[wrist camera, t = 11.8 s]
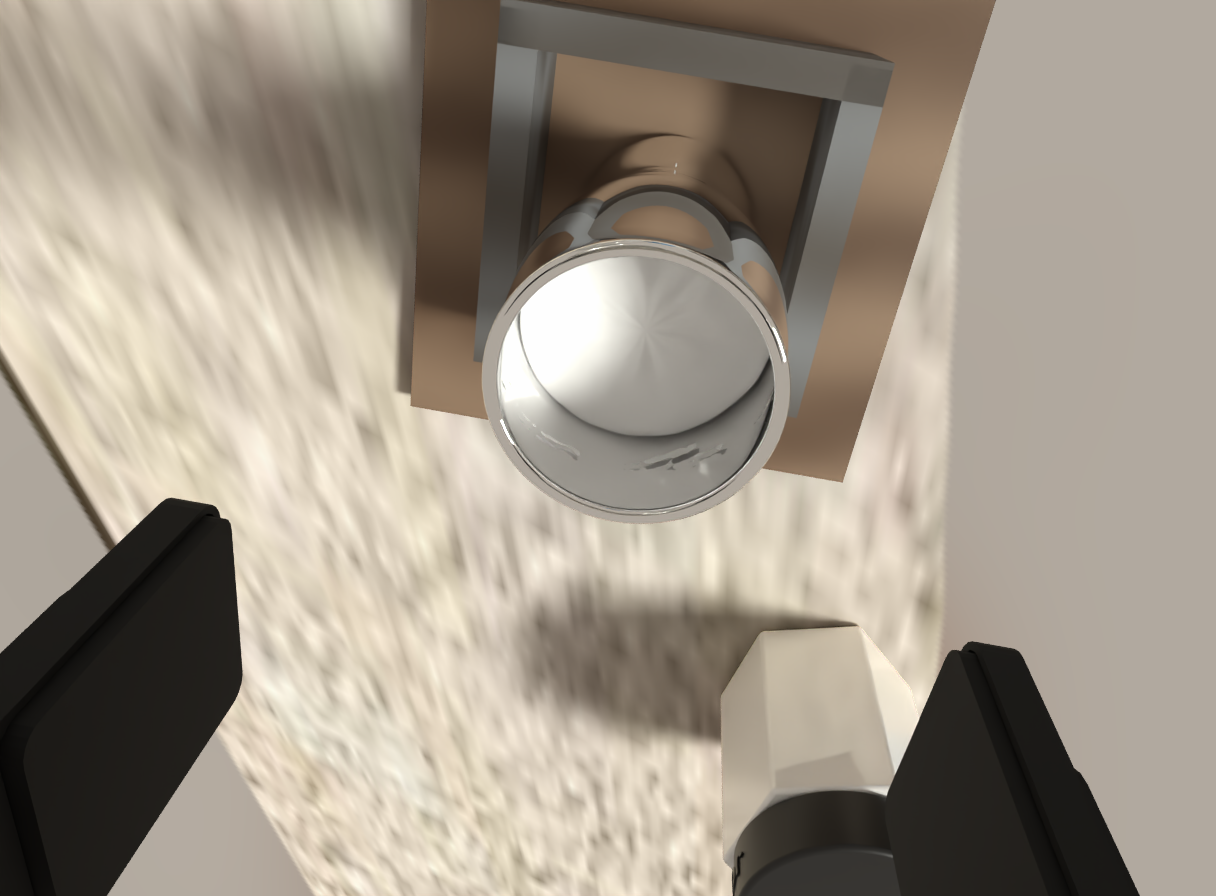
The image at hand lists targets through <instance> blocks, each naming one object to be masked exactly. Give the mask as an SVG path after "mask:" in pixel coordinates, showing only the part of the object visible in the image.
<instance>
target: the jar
mask: <svg viewBox="0 0 1216 896" xmlns="http://www.w3.org/2000/svg"><path fill="white" fill-rule="evenodd" d="M918 721H919V716H918V712H917V709H916V705H915V701H914V698H913V694H912V691H911V688H910V686H909V685H908V684H907V683H906V682H905V680H904V679H903V678H902V677H901V675H900V674H899V673H898V672H897V671H896V669H895V668H894V667H893V666H892V664H891V663H890V662H889V661H888V660H887V658H886V657H885V656H884V655H883V653H882V652H881V651H880V650H879V649H878V647H877V646H876V645H875V644H874V642H873V641H872V640H871V639H870V638H869V636H868V635H867V634H866V633H865V631H864V630H863V629H862V628H861V627H859V626H850V627H831V628H812V629H794V630H775V631H763V632H761V633H760V634H759V635H758V637H757V638H756V640H755V641H754V643H753V645H752V646H751V648H750V650H749V651H748V653H747V654H746V656H745V658H744V659H743V661H742V662H741V664H740V666H739V667H738V669H737V670H736V672H735V674H734V675H733V677H732V678H731V680H730V682H729V683H728V685H727V687H726V688H725V690H724V691H723V693H722V695H721V764H722V839H723V860H724V862H725V863H726V864H727V865H728V866H729V867H730V868H731V869H732V892H733V896H901V893H900V888H899V883H898V879H897V874H896V869H895V864H894V859H893V855H892V850H891V845H890V840H889V835H888V831H887V826H886V820H885V802H886V797H887V793H888V790H889V788H890V785H891V783H892V781H893V778H894V776H895V774H896V771H897V769H898V767H899V765H900V762H901V760H902V758H903V755H904V753H905V751H906V748H907V746H908V744H909V742H910V739H911V737H912V735H913V732H914V730H915V728H916V725H917V723H918Z"/></svg>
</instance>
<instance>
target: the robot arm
mask: <svg viewBox="0 0 1216 896" xmlns="http://www.w3.org/2000/svg"><path fill="white" fill-rule="evenodd" d="M241 682H242V659H241V646H240V633H239V620H238V607H237V593H236V580H235V567H234V554H233V541H232V529H231V524H230V522H229V520H227V519H223V518H220V514H219V511H218V509H217V508H216V507H215V506H213V505H209V504H204V503H198V502H192V501H187V500H181V499H176V498H168V499H165V500H164V501H163V502H161V503H160V504H159V505H158V506H157V507H156V508H155V509H154V510H153V511H152V512H151V513H150V514H148V515H147V516H146V517H145V518H144V519H143V520H142V521H141V522H140V523H139V524H138V525H137V526H136V527H135V528H134V529H133V530H132V531H131V532H130V533H129V534H128V535H126V536H125V537H124V538H123V539H122V540H121V541H120V542H119V543H118V544H117V545H116V546H115V547H114V548H113V549H112V550H111V551H110V552H109V553H108V554H107V555H106V556H105V557H103V558H102V559H101V560H100V561H99V562H98V563H97V564H96V565H95V566H94V567H93V568H92V569H91V570H90V571H89V572H88V573H87V574H86V575H85V576H84V577H83V578H81V580H80V581H78V582H77V583H76V584H75V585H74V586H73V587H72V588H71V589H70V590H69V591H67V592H66V593H64V594H63V595H62V596H60V597H59V598H58V599H57V600H56V601H55V602H54V603H53V604H52V605H51V606H50V607H49V608H48V609H47V610H46V611H45V612H43V613H42V614H41V615H40V616H39V617H38V618H37V619H36V620H35V621H34V622H33V623H32V624H31V625H30V626H29V627H28V628H27V629H25V630H24V632H22V633H21V634H20V635H19V636H18V637H17V638H16V639H15V640H14V641H13V642H12V643H11V644H10V645H9V646H8V647H7V648H6V649H4V650H3V651H2V652H1V653H0V896H107V894H108V893H109V891H110V890H111V888H112V887H113V886H114V884H115V882H116V881H117V879H118V878H119V876H120V875H121V873H122V872H123V870H124V868H125V867H126V866H127V864H128V863H129V861H130V860H131V858H132V857H133V855H134V854H135V852H136V850H137V849H138V847H139V846H140V844H141V843H142V841H143V840H144V838H145V837H146V835H147V834H148V832H149V831H150V829H151V827H152V826H153V825H154V823H155V822H156V820H157V819H158V817H159V815H160V814H161V812H162V811H163V809H164V808H165V806H166V805H167V803H168V802H169V800H170V799H171V797H172V795H173V794H174V793H175V791H176V790H177V788H178V787H179V785H180V784H181V782H182V780H183V779H184V777H185V776H186V774H187V773H188V771H189V770H190V768H191V767H192V765H193V764H194V762H195V760H196V759H197V757H198V756H199V754H200V753H201V752H202V750H203V748H204V747H205V745H206V744H207V742H208V741H209V739H210V738H211V736H212V735H213V733H214V732H215V730H216V729H217V727H218V726H219V724H220V723H221V721H222V720H223V718H224V717H225V715H226V714H227V712H228V711H229V709H230V707H231V706H232V704H233V703H234V701H235V699H236V697H237V695H238V693H239V690H240V686H241ZM885 820H886V826H887V831H888V835H889V840H890V845H891V850H892V855H893V859H894V864H895V869H896V874H897V879H898V883H899V888H900V893H901V896H1140V895H1139V893H1138V891H1137V889H1136V887H1135V885H1134V882H1133V880H1132V878H1131V876H1130V874H1129V872H1128V870H1127V868H1126V866H1125V863H1124V861H1123V859H1122V857H1121V855H1120V853H1119V850H1118V848H1117V846H1116V844H1115V842H1114V840H1113V838H1112V835H1111V833H1110V831H1109V829H1108V827H1107V825H1106V823H1105V821H1104V818H1103V816H1102V814H1101V812H1100V810H1099V808H1098V806H1097V803H1096V801H1095V799H1094V797H1093V795H1092V793H1091V791H1090V789H1089V787H1088V784H1087V783H1086V781H1085V780H1084V778H1083V777H1082V775H1081V773H1080V772H1078V771H1077V770H1076V769H1074V767H1073V765H1072V763H1071V760H1070V758H1069V756H1068V754H1067V752H1066V750H1065V747H1064V745H1063V743H1062V741H1061V739H1060V737H1059V735H1058V732H1057V730H1056V728H1055V726H1054V724H1053V721H1052V719H1051V717H1050V715H1049V713H1048V711H1047V708H1046V706H1045V704H1044V702H1043V700H1042V698H1041V695H1040V693H1039V691H1038V689H1037V687H1036V685H1035V683H1034V680H1033V678H1032V676H1031V674H1030V672H1029V669H1028V667H1027V665H1026V663H1025V661H1024V659H1023V657H1022V655H1021V654H1020V652H1019V651H1017V650H1015V649H1012V648H1007V647H1001V646H995V645H990V644H984V643H979V642H973V641H972V642H968V643H967V644H966V645H965V646H964V647H963V649H962V650H961V651H958V650H952V651H950V652H949V653H948V655H947V657H946V659H945V661H944V663H943V666H942V668H941V670H940V672H939V675H938V677H937V679H936V682H935V684H934V686H933V689H932V691H931V693H930V695H929V698H928V700H927V702H926V705H925V707H924V709H923V712H922V714H921V716H920V719H919V721H918V723H917V725H916V728H915V730H914V732H913V735H912V737H911V739H910V742H909V744H908V746H907V748H906V751H905V753H904V755H903V758H902V760H901V762H900V765H899V767H898V769H897V771H896V774H895V776H894V778H893V781H892V783H891V785H890V788H889V790H888V793H887V797H886V802H885Z"/></svg>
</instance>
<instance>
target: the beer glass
mask: <svg viewBox="0 0 1216 896" xmlns="http://www.w3.org/2000/svg"><path fill="white" fill-rule="evenodd" d="M482 390H483V398H484V404H485V408H486V412H487V416H488V419H489V422H490V424H491V427H492V430H493V432H494V434H495V436H496V438H497V440H498V442H499V444H500V446H501V447H502V449H503V451H504V452H505V454H506V455H507V457H508V458H509V459H510V461H511V462H512V463H513V464H514V466H515V467H516V468H517V469H518V470H519V471H520V473H521V474H522V475H523V476H524V477H525V478H526V479H527V480H529V481H530V482H531V483H532V484H533V485H534V486H535V487H537V488H538V489H539V490H541V491H542V492H543V493H545V494H546V495H547V496H549V497H551V498H552V499H554V500H555V501H557V502H559V503H561V504H563V505H564V506H566V507H569V508H571V509H573V510H575V511H578V512H580V513H583V514H586V515H589V516H592V517H595V518H599V519H603V520H607V521H612V522H619V523H629V524H653V523H663V522H670V521H675V520H679V519H683V518H687V517H690V516H693V515H696V514H699V513H702V512H704V511H706V510H709V509H711V508H713V507H715V506H717V505H718V504H720V503H722V502H724V501H725V500H727V499H729V498H730V497H732V496H733V495H734V494H736V493H737V492H738V491H740V490H741V489H742V488H743V487H744V486H745V485H747V484H748V483H749V482H750V481H751V480H752V479H753V478H754V477H755V476H756V475H757V473H758V472H759V471H760V470H761V469H762V467H763V466H764V465H765V464H766V462H767V461H768V459H769V458H770V456H771V454H772V453H773V451H774V449H775V447H776V446H777V444H778V441H779V439H780V437H781V435H782V432H783V429H784V426H785V423H786V420H787V415H788V411H789V405H790V396H791V375H790V367H789V324H788V316H787V308H786V301H785V295H784V291H783V287H782V283H781V280H780V277H779V274H778V271H777V268H776V265H775V262H774V260H773V257H772V255H771V253H770V250H769V248H768V246H767V245H766V243H765V241H764V239H763V238H762V236H761V235H760V233H759V232H758V230H757V229H756V228H755V226H754V225H753V224H752V213H751V205H750V200H749V197H748V193H747V191H746V188H745V186H744V183H743V181H742V179H741V178H740V176H739V174H738V173H737V171H736V170H735V169H734V167H733V166H732V165H731V164H730V163H729V162H728V161H727V159H725V158H724V157H723V156H722V155H721V154H720V153H718V152H717V151H716V150H714V149H713V148H711V147H709V146H708V145H706V144H704V143H702V142H699V141H697V140H694V139H691V138H687V137H682V136H673V135H663V136H654V137H649V138H645V139H641V140H638V141H636V142H633V143H631V144H629V145H627V146H625V147H623V148H622V149H620V150H619V151H617V152H616V153H615V154H614V155H612V156H611V157H610V158H609V159H608V160H607V161H606V162H605V163H604V164H603V166H602V167H601V168H600V169H599V171H598V172H597V174H596V175H595V177H594V178H593V180H592V182H591V184H590V186H589V188H588V191H587V192H586V193H585V194H583V195H581V196H580V197H578V198H577V199H575V200H574V201H572V202H571V203H569V204H568V205H567V206H566V207H565V208H563V209H562V210H561V211H560V212H559V213H558V214H557V215H556V216H555V217H554V218H553V219H552V220H551V222H550V223H549V224H548V225H547V226H546V227H545V229H544V230H543V231H542V232H541V233H540V235H539V236H538V237H537V238H536V240H535V241H534V242H533V244H532V245H531V247H530V248H529V250H528V252H527V253H526V255H525V257H524V259H523V260H522V262H521V264H520V266H519V268H518V269H517V271H516V273H515V275H514V277H513V280H512V282H511V284H510V287H509V289H508V292H507V294H506V297H505V299H504V302H503V304H502V307H501V310H500V312H499V313H498V315H497V317H496V319H495V321H494V323H493V325H492V328H491V330H490V333H489V336H488V339H487V343H486V346H485V351H484V356H483V364H482Z"/></svg>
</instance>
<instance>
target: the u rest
mask: <svg viewBox="0 0 1216 896" xmlns="http://www.w3.org/2000/svg"><path fill="white" fill-rule="evenodd" d="M995 1H996V0H427V8H426V33H425V58H424V83H423V108H422V133H421V158H420V183H419V208H418V233H417V258H416V283H415V308H414V333H413V358H412V383H411V406H414V407H419V408H425V409H431V410H436V411H442V412H448V413H453V414H459V415H464V416H470V417H476V418H481V419H487V420H489V419H488V416H487V412H486V408H485V404H484V398H483V390H482V364H483V356H484V351H485V346H486V343H487V339H488V336H489V333H490V330H491V328H492V325H493V323H494V321H495V319H496V317H497V315H498V313H499V312H500V310H501V307H502V304H503V302H504V299H505V297H506V294H507V292H508V289H509V287H510V284H511V282H512V280H513V277H514V275H515V273H516V271H517V269H518V268H519V266H520V264H521V262H522V260H523V259H524V257H525V255H526V253H527V252H528V250H529V248H530V247H531V245H532V244H533V242H534V241H535V240H536V238H537V237H538V236H539V235H540V233H541V232H542V231H543V230H544V229H545V227H546V226H547V225H548V224H549V223H550V222H551V220H552V219H553V218H554V217H555V216H556V215H557V214H558V213H559V212H560V211H561V210H562V209H563V208H565V207H566V206H567V205H568V204H569V203H571V202H572V201H574V200H575V199H577V198H578V197H580V196H581V195H583V194H585V193H586V192H587V191H588V188H589V186H590V184H591V182H592V180H593V178H594V177H595V175H596V174H597V172H598V171H599V169H600V168H601V167H602V166H603V164H604V163H605V162H606V161H607V160H608V159H609V158H610V157H611V156H612V155H614V154H615V153H616V152H617V151H619V150H620V149H622V148H623V147H625V146H627V145H629V144H631V143H633V142H636V141H638V140H641V139H645V138H649V137H654V136H663V135H673V136H682V137H687V138H691V139H694V140H697V141H699V142H702V143H704V144H706V145H708V146H709V147H711V148H713V149H714V150H716V151H717V152H718V153H720V154H721V155H722V156H723V157H724V158H725V159H727V161H728V162H729V163H730V164H731V165H732V166H733V167H734V169H735V170H736V171H737V173H738V174H739V176H740V178H741V179H742V181H743V183H744V186H745V188H746V191H747V193H748V197H749V200H750V205H751V213H752V224H753V225H754V226H755V228H756V229H757V230H758V232H759V233H760V235H761V236H762V238H763V239H764V241H765V243H766V245H767V246H768V248H769V250H770V253H771V255H772V257H773V260H774V262H775V265H776V268H777V271H778V274H779V277H780V280H781V283H782V287H783V291H784V295H785V301H786V308H787V316H788V324H789V367H790V375H791V396H790V405H789V411H788V415H787V420H786V423H785V426H784V429H783V432H782V435H781V437H780V439H779V441H778V444H777V446H776V447H775V449H774V451H773V453H772V454H771V456H770V458H769V459H768V461H767V462H766V464H765V465H764V466H763V467H762V468H764V469H769V470H775V471H781V472H786V473H792V474H798V475H803V476H809V477H815V478H820V479H826V480H832V481H837V482H843V479H844V476H845V473H846V470H847V467H848V463H849V460H850V457H851V454H852V451H853V448H854V445H855V441H856V438H857V435H858V432H859V429H860V426H861V423H862V419H863V416H864V413H865V410H866V407H867V404H868V401H869V397H870V394H871V391H872V388H873V385H874V382H875V379H876V375H877V372H878V369H879V366H880V363H881V360H882V357H883V353H884V350H885V347H886V344H887V341H888V338H889V335H890V331H891V328H892V325H893V322H894V319H895V316H896V313H897V309H898V306H899V303H900V300H901V297H902V294H903V291H904V287H905V284H906V281H907V278H908V275H909V272H910V269H911V265H912V262H913V259H914V256H915V253H916V250H917V247H918V243H919V240H920V237H921V234H922V231H923V228H924V224H925V221H926V218H927V215H928V212H929V209H930V206H931V202H932V199H933V196H934V193H935V190H936V187H937V184H938V180H939V177H940V174H941V171H942V168H943V165H944V162H945V158H946V155H947V152H948V149H949V146H950V143H951V140H952V136H953V133H954V130H955V127H956V124H957V121H958V118H959V114H960V111H961V108H962V105H963V102H964V99H965V96H966V92H967V89H968V86H969V83H970V80H971V77H972V74H973V70H974V67H975V64H976V61H977V58H978V55H979V51H980V48H981V45H982V42H983V39H984V36H985V33H986V29H987V26H988V23H989V20H990V17H991V14H992V11H993V8H994V4H995Z"/></svg>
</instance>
